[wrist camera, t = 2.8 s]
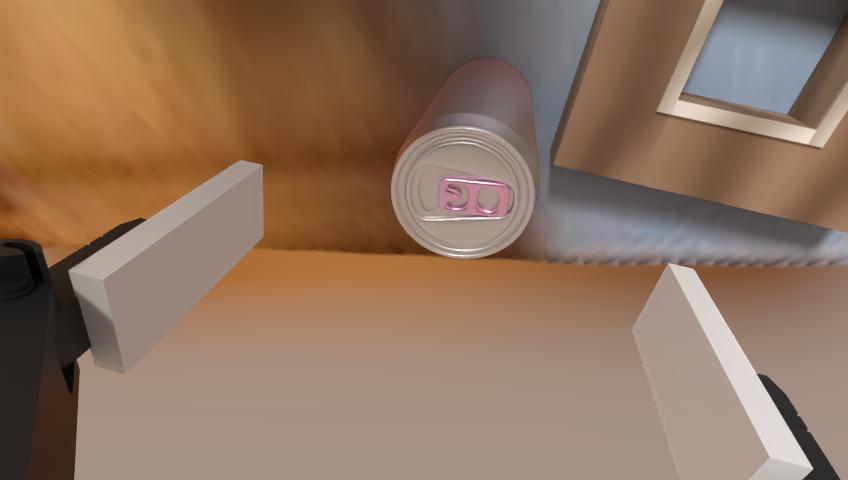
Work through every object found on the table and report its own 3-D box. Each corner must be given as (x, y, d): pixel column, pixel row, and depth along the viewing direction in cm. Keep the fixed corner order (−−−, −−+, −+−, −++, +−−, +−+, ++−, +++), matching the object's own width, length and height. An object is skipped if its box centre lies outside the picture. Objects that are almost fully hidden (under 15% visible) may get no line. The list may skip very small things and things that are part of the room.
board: (550, 149, 31) (553, 166, 28) (670, -208, 22) (691, -234, 19) (822, 211, 30) (852, 234, 27) (1073, -138, 20) (1159, -156, 18)
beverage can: (524, 151, 31) (528, 272, 19) (439, 143, 32) (386, 254, 20) (538, 58, 28) (553, 128, 16) (443, 53, 29) (384, 114, 16)
